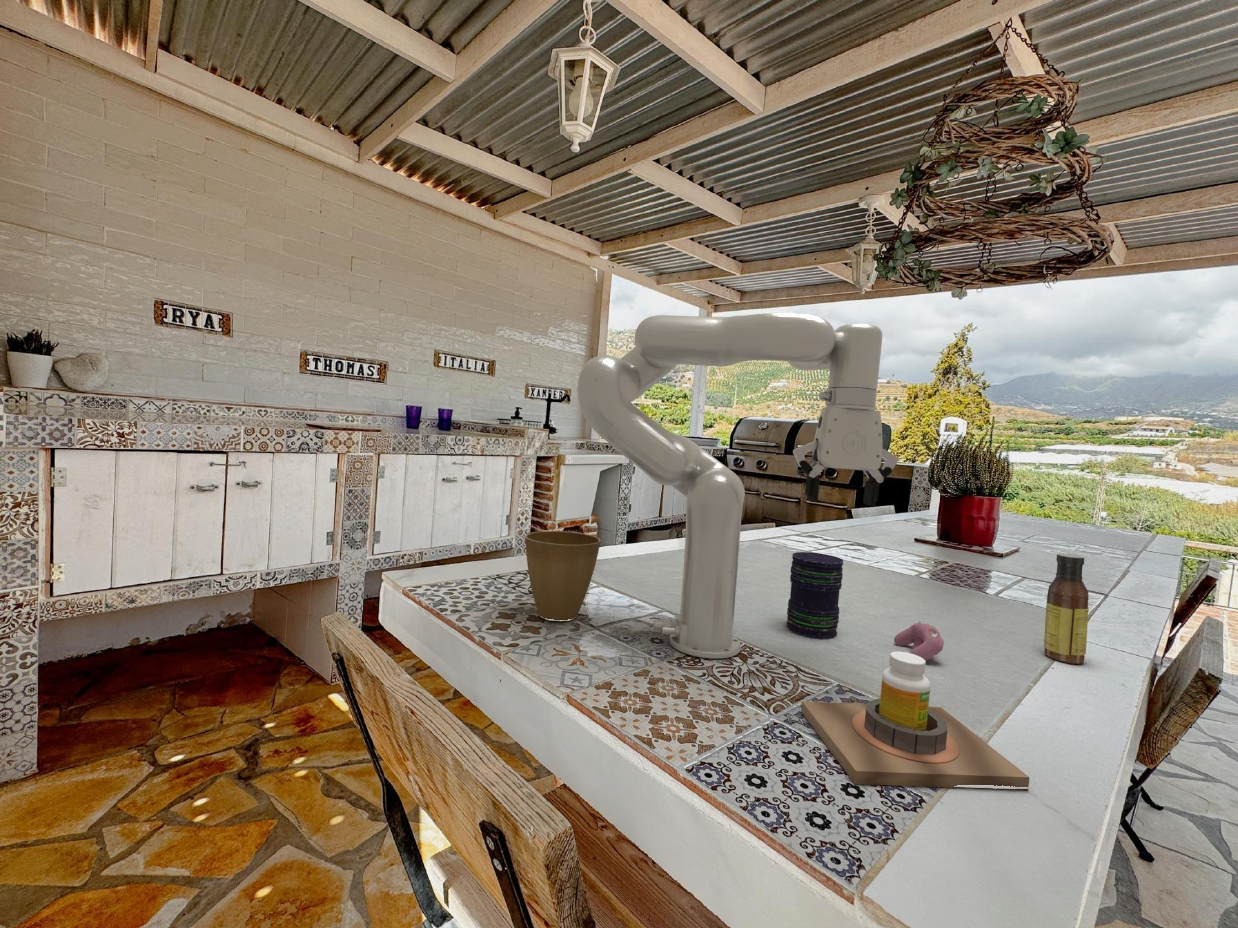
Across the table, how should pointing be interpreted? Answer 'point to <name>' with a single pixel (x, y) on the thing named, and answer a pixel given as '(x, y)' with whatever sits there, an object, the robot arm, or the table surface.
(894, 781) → the socket board
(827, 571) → the storage jar
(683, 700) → the table surface
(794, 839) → the table surface
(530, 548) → the plant pot
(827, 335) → the robot arm
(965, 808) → the table surface
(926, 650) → the video game controller
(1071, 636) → the sauce bottle
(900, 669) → the supplement bottle
